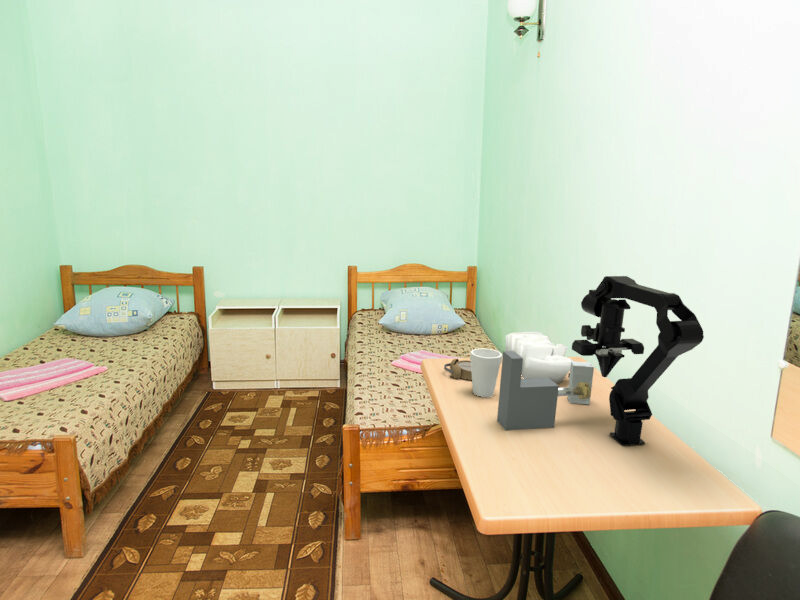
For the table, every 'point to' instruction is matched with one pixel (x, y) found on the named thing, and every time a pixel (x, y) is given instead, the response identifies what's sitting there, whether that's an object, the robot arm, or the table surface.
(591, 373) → the skincare box
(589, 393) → the shaft
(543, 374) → the wavy white extrusion
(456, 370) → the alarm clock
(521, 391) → the block
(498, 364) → the foam cup
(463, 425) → the table surface
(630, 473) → the table surface
